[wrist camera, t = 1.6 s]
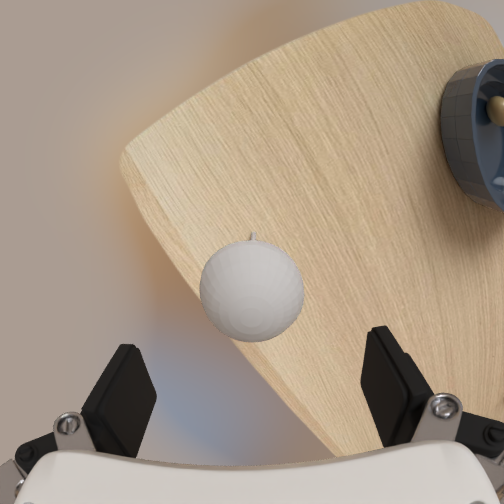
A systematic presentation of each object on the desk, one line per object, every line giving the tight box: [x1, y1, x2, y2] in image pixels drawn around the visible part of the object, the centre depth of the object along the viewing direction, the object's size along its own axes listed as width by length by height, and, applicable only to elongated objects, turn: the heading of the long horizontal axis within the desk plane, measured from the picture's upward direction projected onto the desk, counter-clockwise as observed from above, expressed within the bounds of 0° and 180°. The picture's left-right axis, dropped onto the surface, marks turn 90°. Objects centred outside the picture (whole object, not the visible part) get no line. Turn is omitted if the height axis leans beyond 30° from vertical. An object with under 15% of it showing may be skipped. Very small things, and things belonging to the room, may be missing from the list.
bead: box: [486, 96, 504, 127], centre depth 21 cm, size 4×4×4 cm
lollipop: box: [200, 231, 304, 342], centre depth 21 cm, size 6×6×15 cm
